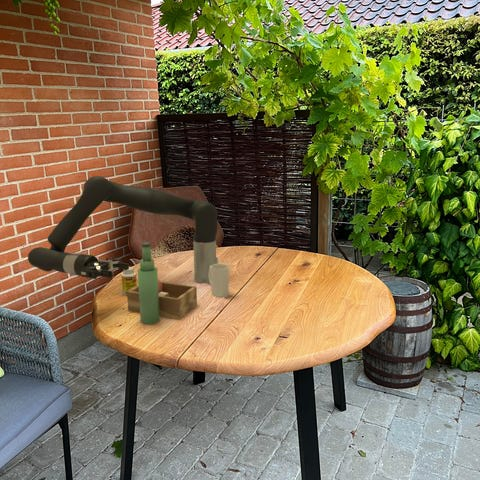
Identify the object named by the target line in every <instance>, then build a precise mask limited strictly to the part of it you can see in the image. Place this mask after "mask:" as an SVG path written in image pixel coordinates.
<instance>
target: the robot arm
mask: <svg viewBox="0 0 480 480" xmlns="http://www.w3.org/2000/svg"><path fill="white" fill-rule="evenodd" d="M104 202H105V203H106V202H108V203H114V204H119V205H123V206H126V207H128V208H131V209H134V210H138V211H141V212H145V213H149V214H153V215H161V216H170V215H171V216H181V217H183V218H186V219H190V220H192V221H194V222H195V223H194V224H195V225H194V226H195V227H194V228H195V231H194V233H193V236H192V239H193V270H194V271H193V273H194V274H193V275H194V277H193V278H194V281H195V282H196V283H199V284H210V282H209V276H208V273H209V268H210V266H211V265H213V264H219V258H218V257H217V239H216V237H217V234H218V210H217V207H215V205H214V204H213V203H210V202H208V201H206V200H199V199H191V198H185V197H180V196H177V195H175V194H172V193H169V192H165V191H163V190H159V189H153V188H149V187H143V186H137V185H127V184H126V185H125V184H121V183H117V182H115V181H111V180H109V179H107V178H106V177H104V176H101V175H100V176H99V175H94V176H91V177H88V178H87V180H86V181H85V182H84V183H83V191H82V193H81V195H80V197H79V198H78V200H77V201H76V203H75V204H74V206H72V208H70V210H69V211H68V212H67V213H66V214H64V215H65V216H63V217H62V218H61V220H60V221H59V222H58V223H57V225H56V226H55V227H54V229H52V231H51V233H50V234H49V235H48V237H47V242H48V243H49V244H50V248H47V247H42V246H41V247H40V246H38V247H35V248H33V249H31V250H30V251H29V253H27V260H28V263H29V264H30V265H31V266H32V267H34V268H37V269H39V270H41V271H44V272H47V273H49V272H52V271H55V272H59V273H64V274H70V275H73V276H79V277H82V278H88V279H92V280H96V279H97V278H108V279H112V278H113V277H114V273H113V271H114V270H122V271H123V270H128V269H129V267H130V265H129V263H127V262H122V259H119V258H118V259H117V258H110V257H107V258H105V259H104V260H103V259H100V260H99V259H98V258H97V257H96V256H95V255H93V254H86V253H85V254H84V253H79V252H77V253H75V252H74V253H73V252H65V251H66V247H68V245H69V244H70V242H71V241H72V240H73V239H74V237H75V236H76V235H77V234H78V232H79V230H80V229H81V227H83V224H85V222H86V221H87V220H88V218H89V217H90V216H91V214H92V213H93V212H94V211H95V210H96V209H97V208H99V206H100V205H101V204H103V203H104Z"/></svg>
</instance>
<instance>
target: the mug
mask: <svg viewBox="0 0 480 480" xmlns="http://www.w3.org/2000/svg"><path fill="white" fill-rule="evenodd" d="M229 267H230V266H229V265H228V264H226V263H218V264H213V265H211V266H210V268H209V273H208V276H209V282H210V283H209V285H210V287H211V295H212V296H213V297H215V298H224V299H227V298H228V297H229V279H230V277H229V276H230V275H229V274H230V273H229V272H230V269H229Z"/></svg>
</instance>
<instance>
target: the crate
mask: <svg viewBox="0 0 480 480" xmlns="http://www.w3.org/2000/svg"><path fill="white" fill-rule="evenodd" d="M197 291H198V289H197V286H195V285H187V284H181V283H173V282H167V281H162V280H159V279H158V293H159V315H160V317H162V318H167V319H172V320H173V319H174V320H178V321H180V320H181V319H182V318H183V317H184V316H186V315H187V314H188V313H189V312H191V310H193V309H195V307H197V306H198V296H197V295H198V294H197V293H198V292H197ZM126 297H127V298H126V299H127V311H129V312H133V313H139V314H140V304H139V287H138V285H137V286H136V287H134V288H132V289H131V290H129V291H127V295H126Z"/></svg>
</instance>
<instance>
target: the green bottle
mask: <svg viewBox="0 0 480 480" xmlns="http://www.w3.org/2000/svg"><path fill="white" fill-rule="evenodd" d="M140 246H141V249H142V259H140V260H139V265H140V266H139V268H137V286H138V287H139V304H140V313H139V318H140V319H139V320H140V324H142V325H154V324H158V323H159V322H160V320H161V319H160V317H161V316H160V315H159V293H158V280H159V278H158V276H159V275H158V274H159V273H158V267H155V259H154V258H152V247H151V246H152V242H151V241H142V242H141V243H140Z"/></svg>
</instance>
